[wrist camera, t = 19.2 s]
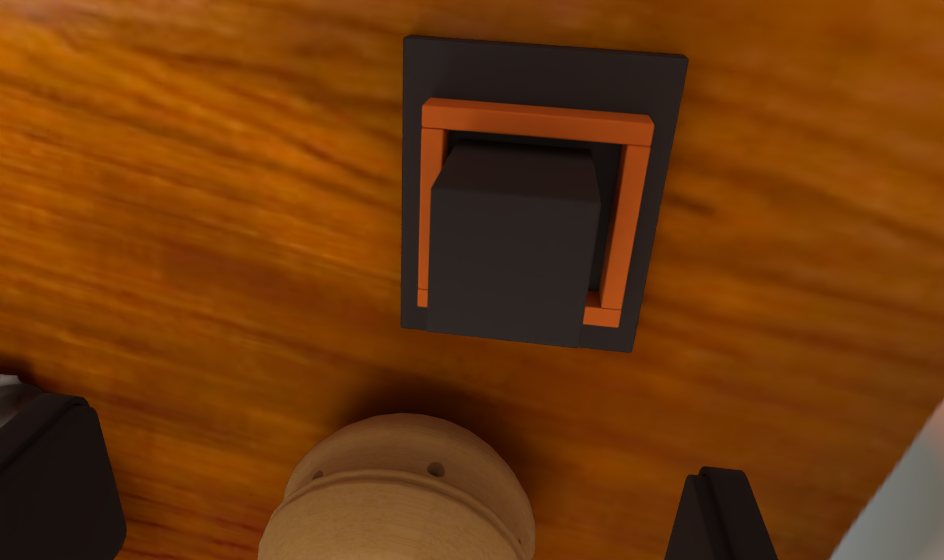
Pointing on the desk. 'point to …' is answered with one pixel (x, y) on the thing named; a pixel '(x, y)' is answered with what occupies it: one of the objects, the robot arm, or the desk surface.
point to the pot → (401, 497)
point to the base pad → (547, 124)
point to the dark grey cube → (512, 242)
